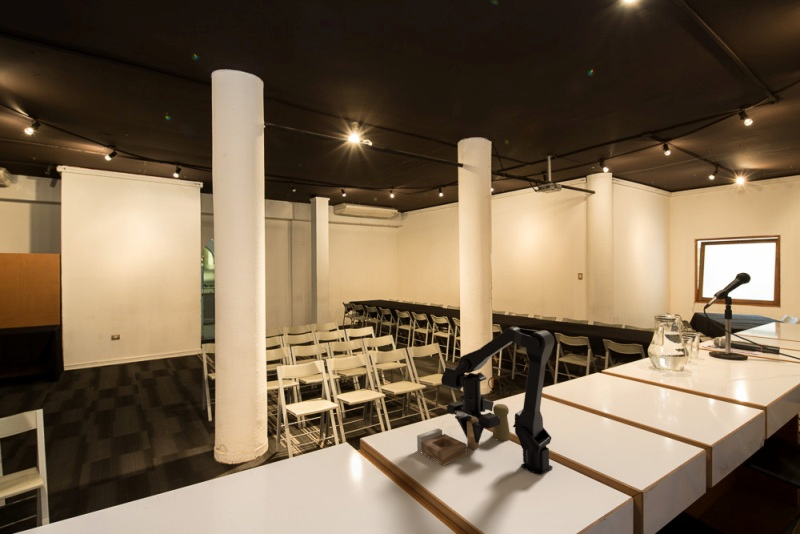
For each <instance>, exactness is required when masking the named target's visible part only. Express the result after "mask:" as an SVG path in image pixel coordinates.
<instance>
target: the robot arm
mask: <svg viewBox="0 0 800 534" xmlns="http://www.w3.org/2000/svg"><path fill="white" fill-rule="evenodd" d="M512 343H514V344H516V345H518V346H520V347H522V348H525V352H526V356H527V359H528V366H527V368H528V369H527V376H526V384H525V391H524V400H523V408H522V409H521V410H519V411H518V412H515V415H514V424H513V425H512V428H514V433H515V435H516V436H517V438H518V441H519V443H520V446H521V449H522V464H520V467H521V468H523V469H525V470H527V471H529V472H532V473H533V474H536V475H538V476H542V475H544V474H545V473H547V472H549V471H551V470H553V466H552V465H550V450H549V447H547V446H548V445H549V444H551V441H552V436H551V435H550V434H549V432H548V431H547V430H546V428H545V427H544V419H543V418H544V417H543V415H542V412H541V404H542V396H543V388H544V381H545V374H546V373H545V372H546V366H547V365H546V364H547V362H548V360H549V358H550V356H551V354H552V351H553V349H554V346H555V337H554V336H553V334H552V333H550V332H549V331H548V330H545V329H544V330H543V329H542V330H534V329H528V328H527V329H526V328H521V327H518V326H511V327H508V328H506V329H504V331H503V332H501V333H499V335H497V336H496V337H494V338H493V339H491V340H490V341H488V342H487V343H486V344H484V345H483V346H481V347H480V348H479V349H477V350H474V351H471V352H468V353H466V354H464V355H462V356H461V357H459V362H458V365H457V366H456V368H454V367H452V366H447V367H444V371H443V373H442V376H441V385H442V387H445V388H449V389H453V390H458V391H460V390H461V389H462V394H460V396H459V397H460V399H461V400H462V402H461V401H459V400H457V401H455V402H451V403H448V405H447V406H446V413H447V414H449V415H452V416H453V415H454V414H456V415H455V416H454V418H455V419H456V420H457V422H458V423H459V426H460V428H461V430H462V431H463V433H464V436H465V438H466V439H467V421H468V420H473V419H472V418H474V419H475V421H476V422H475V423H472V428H473V433H474V438H475V441H476V443H478V442H479V443H480V441H481V437H482V433H483V431H484V429H489V430H490V429H491V428H493V427H495V426H497V425H500V417H499V416H498V415H495V414H494V413H493V407H494V405H495V404H494V402H495V401H492V400H490V399H486V398H485V397H484V395H483V394H481V393H482V391H481V382H483V381H486V380H487V377H486V375H484V373H482V371H480V370H481V369H482V368H483V367H484V366H485V365H486V364H487V363H488V361H489V360H490V359H491V357H493V356H495V355H496V354H497V353H499V352H501V351H502V350H503V349H505V348H506V347H508V346H510V345H511V344H512ZM476 371H480V372H478V373H473V372H476ZM486 411H489V412H487V413H485V412H486ZM483 413H484V414H483Z"/></svg>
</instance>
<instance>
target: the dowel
mask: <svg viewBox="0 0 800 534" xmlns="http://www.w3.org/2000/svg"><path fill="white" fill-rule="evenodd" d="M475 422H476V419H475V420H474V419H471V420H468V421H467V438H466V439H467V440H466V441H467V443H466V444H467V448H468V449H469V450H478V449H479V448H480V447H479V446H480V444H479V443H480V441H479V442H478V443H476V441H475V438H474V433H473V428H472V423H475Z"/></svg>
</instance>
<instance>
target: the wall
mask: <svg viewBox="0 0 800 534" xmlns="http://www.w3.org/2000/svg"><path fill="white" fill-rule="evenodd" d="M440 435H443V429H441V428H439V427H438V428H435V429H431V430H430V431H426V432H423V433H420V434H417V436H416V437H417V439H416V441H417V442H416V443H417V446H416V447H417V452H418V451H420V452H421V442H423V441H426V440H429V439H432V438H434V437H437V436H440ZM420 452H419V453H420Z"/></svg>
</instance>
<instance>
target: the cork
mask: <svg viewBox="0 0 800 534" xmlns="http://www.w3.org/2000/svg"><path fill="white" fill-rule="evenodd" d="M509 411H510V410H509V406H507V405H506V404H504V403H497V404H493V409H492V413H493V414H495V415H498V416H499V417H500V425H497V426H495V427H492V428H493V429H492V438H493V439H494V440H496V441H500V442H501V441H502V442H506V441H509V440H511V437H512V436H511V432H510V425H509V420H508V415H509Z"/></svg>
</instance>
